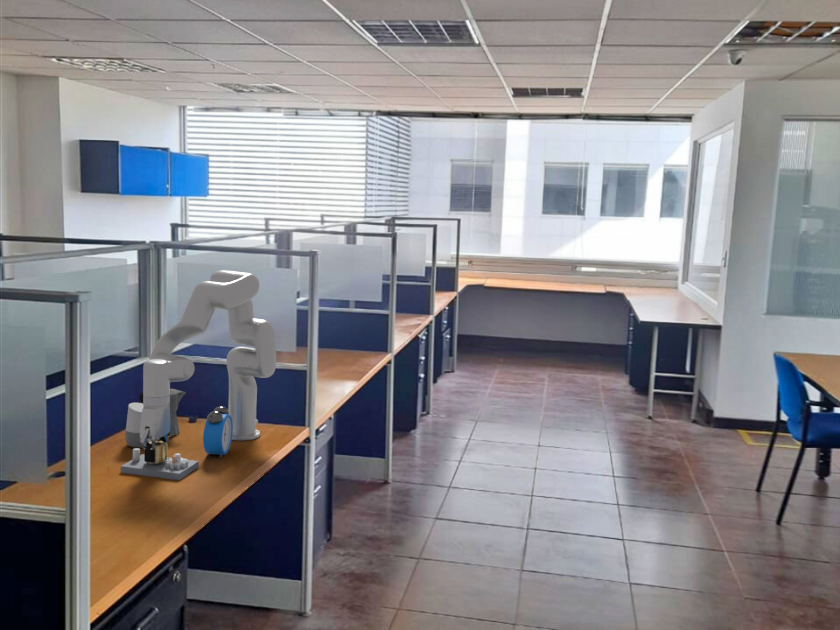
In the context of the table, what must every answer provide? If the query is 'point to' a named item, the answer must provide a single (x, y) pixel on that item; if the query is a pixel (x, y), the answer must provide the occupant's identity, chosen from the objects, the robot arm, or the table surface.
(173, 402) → the coffeepot
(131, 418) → the smart speaker
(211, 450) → the alarm clock
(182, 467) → the gear board
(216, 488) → the table surface
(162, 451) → the brass gear
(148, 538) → the table surface
